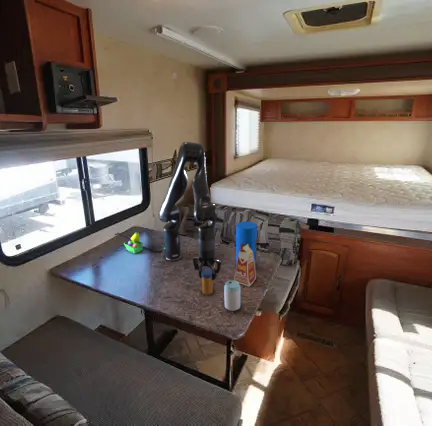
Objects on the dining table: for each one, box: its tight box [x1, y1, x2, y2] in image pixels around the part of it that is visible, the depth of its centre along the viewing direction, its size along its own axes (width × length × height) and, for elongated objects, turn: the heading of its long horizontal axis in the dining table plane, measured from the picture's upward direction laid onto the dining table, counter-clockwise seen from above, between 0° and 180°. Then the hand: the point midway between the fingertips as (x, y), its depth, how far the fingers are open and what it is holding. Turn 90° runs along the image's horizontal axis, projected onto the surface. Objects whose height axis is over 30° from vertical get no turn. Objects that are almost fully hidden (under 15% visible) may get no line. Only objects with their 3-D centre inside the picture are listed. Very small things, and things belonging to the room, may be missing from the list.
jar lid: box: [201, 268, 212, 278], centre depth 134 cm, size 6×6×2 cm
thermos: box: [235, 221, 258, 266], centre depth 154 cm, size 11×11×25 cm
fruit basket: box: [123, 232, 144, 255], centre depth 180 cm, size 11×9×11 cm
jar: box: [201, 277, 214, 296], centre depth 136 cm, size 5×5×11 cm
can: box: [223, 279, 241, 312], centre depth 124 cm, size 7×7×12 cm
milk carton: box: [233, 244, 257, 287], centre depth 143 cm, size 9×9×20 cm
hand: (207, 278), depth 135 cm, fingers closed on jar lid, 5 cm apart
